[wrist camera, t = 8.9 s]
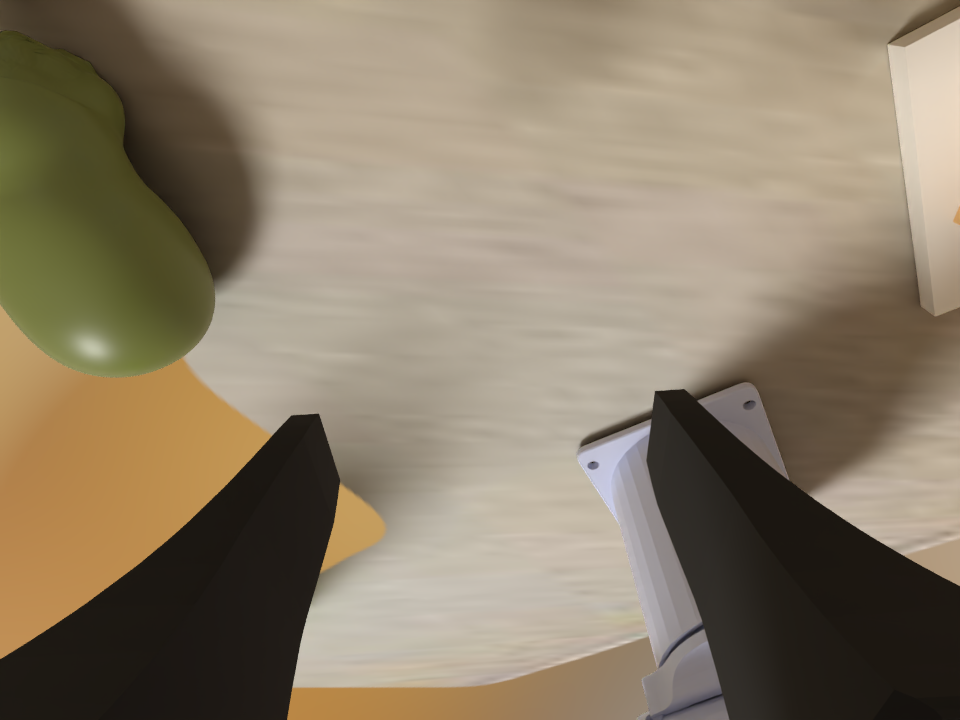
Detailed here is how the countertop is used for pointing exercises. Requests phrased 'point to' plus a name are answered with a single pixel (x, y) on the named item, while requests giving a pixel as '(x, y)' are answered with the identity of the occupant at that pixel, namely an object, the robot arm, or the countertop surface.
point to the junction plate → (931, 152)
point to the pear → (88, 225)
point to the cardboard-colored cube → (957, 217)
